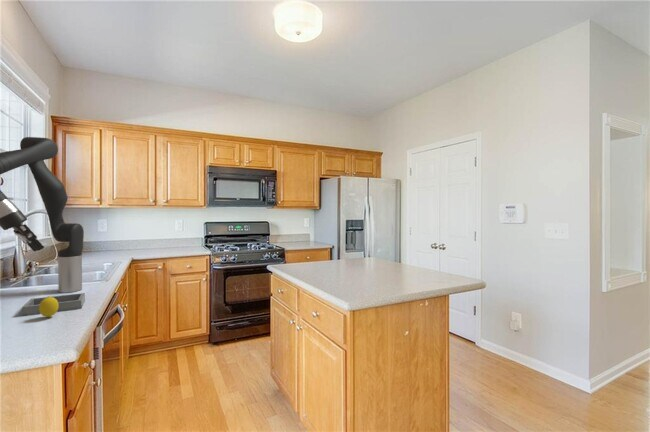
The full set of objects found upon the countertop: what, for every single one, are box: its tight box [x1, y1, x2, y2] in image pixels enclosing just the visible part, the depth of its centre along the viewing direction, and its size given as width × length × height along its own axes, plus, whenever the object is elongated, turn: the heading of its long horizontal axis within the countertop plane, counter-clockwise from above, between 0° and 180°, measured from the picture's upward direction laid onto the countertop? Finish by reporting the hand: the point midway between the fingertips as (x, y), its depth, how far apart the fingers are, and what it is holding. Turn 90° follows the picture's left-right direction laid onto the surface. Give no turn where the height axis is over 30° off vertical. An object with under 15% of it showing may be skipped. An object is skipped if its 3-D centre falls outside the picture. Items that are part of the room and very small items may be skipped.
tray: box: [21, 292, 86, 317], centre depth 132 cm, size 13×18×3 cm
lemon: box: [39, 296, 59, 318], centre depth 120 cm, size 6×6×8 cm
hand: (39, 249), depth 123 cm, fingers open, 8 cm apart
